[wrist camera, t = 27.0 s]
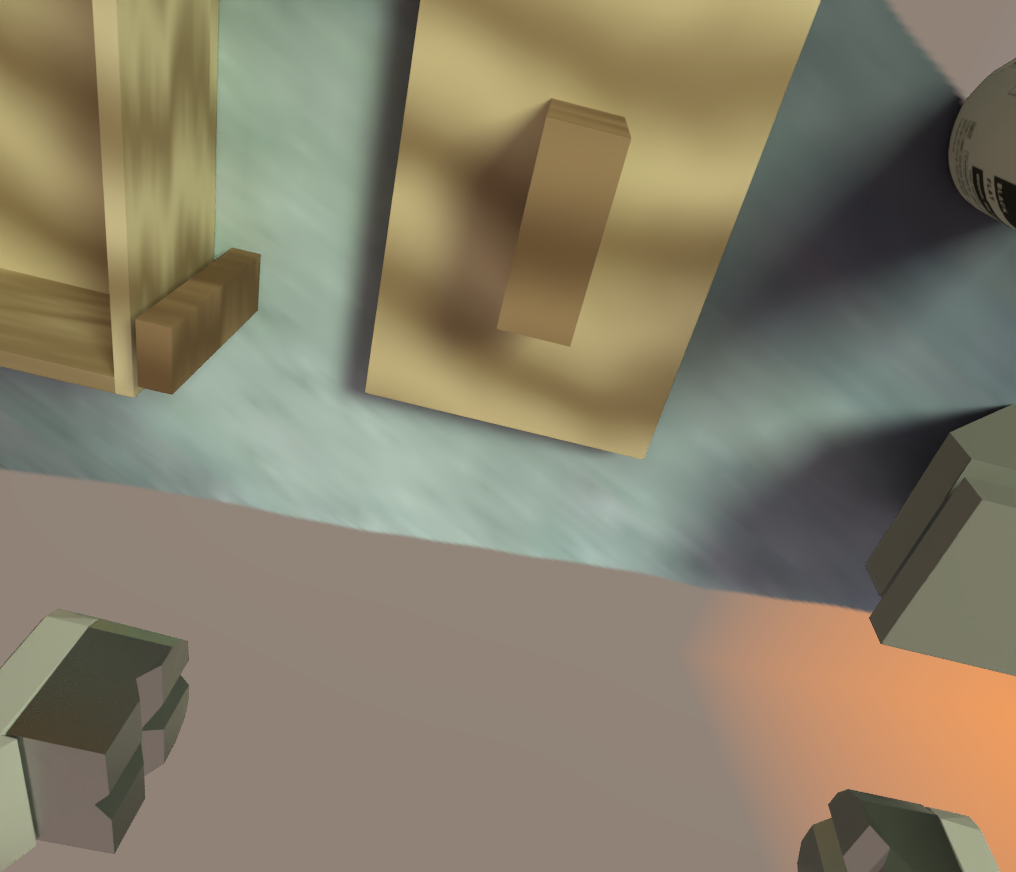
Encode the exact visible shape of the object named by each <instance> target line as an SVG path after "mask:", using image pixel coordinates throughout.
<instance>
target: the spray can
mask: <svg viewBox="0 0 1016 872" xmlns="http://www.w3.org/2000/svg"><path fill="white" fill-rule="evenodd" d="M948 163H949V171H950V173H951V176H952V178H953V181H954V184H955V186H956V188H957V189H958V191H959V192H960V194H961V195H962V196H963V197H964V198H965V200H966V201H968V202H969V203H970V204H971V205H973V206H974V207H975V208H977V209H978V210H980V211H982V212H984V213H985V214H987V215H989V216H990V217H992V218H994V219H995V220H997V221H1000V222H1002V223H1004V224H1006V225H1007V226H1009V227H1010V228H1012V229H1014V230H1016V58H1015V59H1013V60H1012V61H1010V62H1008V63H1007V64H1005V65H1003V66H1002V67H1000V68H998V69H997V70H995V71H994V72H993V73H992V74H990V75H989V76H988V77H987V78H986V79H985V80H984V81H983V82H982V83H981V84H980V85H979V86H978V87H977V88H976V89H975V90H974V91H973V92H972V94H971V95H970V96H969V97H968V98H967V99H966V100H965V102H964V103H963V105H962V107H961V109H960V111H959V114H958V116H957V118H956V120H955V123H954V125H953V129H952V132H951V137H950V143H949V150H948Z"/></svg>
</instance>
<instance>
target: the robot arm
mask: <svg viewBox="0 0 1016 872" xmlns="http://www.w3.org/2000/svg"><path fill="white" fill-rule="evenodd" d="M188 660H189V654H188V641H186V640H182V639H178V638H174V637H170V636H166V635H163V634H159V633H155V632H151V631H147V630H143V629H139V628H135V627H131V626H127V625H123V624H120V623H116V622H112V621H108V620H104V619H100V618H95V617H91V616H87V615H83V614H79V613H74V612H70V611H66V610H62V609H57V610H56V611H54V612H52V613H51V614H49V615H48V616H46V617H45V618H43V619H42V620H41V621H40V622H39V624H38V625H37V626H36V627H35V628H34V629H33V631H32V632H31V633H30V634H29V635H28V636H27V638H26V639H25V640H24V641H23V642H22V643H21V644H20V645H19V647H18V648H17V649H16V650H15V651H14V652H13V654H12V655H11V656H10V657H9V658H8V659H7V661H6V662H5V663H4V664H3V665H2V666H1V667H0V872H1V871H3V870H4V869H5V868H7V867H8V866H9V865H11V864H12V863H13V862H15V861H16V860H17V859H19V858H20V857H21V856H22V855H24V854H25V853H27V852H28V851H29V850H31V849H32V848H33V847H34V846H36V844H37V842H36V840H42V841H46V842H52V843H57V844H63V845H68V846H73V847H79V848H84V849H89V850H95V851H100V852H106V853H112V854H115V852H116V850H117V848H118V847H119V845H120V843H121V841H122V839H123V838H124V835H125V834H126V832H127V830H128V829H129V827H130V825H131V823H132V821H133V819H134V817H135V816H136V814H137V812H138V810H139V809H140V807H141V805H142V803H143V801H144V799H145V785H144V783H145V782H144V776H145V775H147V774H148V773H150V772H151V771H153V770H155V769H156V768H158V767H159V766H161V765H162V764H164V762H165V761H166V759H167V757H168V755H169V753H170V751H171V749H172V748H173V746H174V744H175V742H176V739H177V737H178V734H179V731H180V729H181V726H182V723H183V721H184V718H185V713H186V708H187V704H188V697H189V685H188V683H187V682H186V681H185V680H184V678H183V677H182V676H181V675H180V674H181V673H182V671H183V669H184V667H185V666H186V664H187V662H188ZM828 806H829V809H830V813H831V816H832V818H829V819H827V820H824V821H822V822H819V823H817V824H814V825H813V826H811V828H810V829H809V831H808V832H807V834H806V835H805V837H804V838H803V840H802V841H801V847H800V852H799V857H798V862H797V866H798V872H1000V870H999V868H998V866H997V864H996V861H995V859H994V857H993V855H992V853H991V851H990V849H989V847H988V845H987V843H986V840H985V838H984V836H983V834H982V832H981V830H980V828H979V827H978V826H977V825H976V824H975V823H974V822H973V820H972V819H971V818H970V817H968V816H964V815H960V814H957V813H952V812H948V811H943V810H938V809H934V808H929V807H924V806H923V805H921V804H916V803H911V802H907V801H902V800H897V799H892V798H887V797H883V796H878V795H873V794H869V793H863V792H859V791H855V790H850V789H847V790H844V791H842V792H838V793H837V794H836V795H835V797H834V798H833V799H832V800H831V802H830V803H829V804H828Z"/></svg>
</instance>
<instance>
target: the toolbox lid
mask: <svg viewBox="0 0 1016 872" xmlns="http://www.w3.org/2000/svg"><path fill="white" fill-rule="evenodd" d="M820 1H821V0H420V7H419V14H418V21H417V28H416V35H415V42H414V49H413V56H412V63H411V70H410V77H409V84H408V92H407V99H406V106H405V113H404V120H403V127H402V134H401V141H400V148H399V155H398V162H397V169H396V177H395V184H394V191H393V198H392V205H391V212H390V219H389V226H388V233H387V240H386V247H385V254H384V262H383V269H382V276H381V283H380V290H379V297H378V304H377V311H376V318H375V325H374V332H373V339H372V346H371V354H370V361H369V368H368V375H367V382H366V389H365V393H369V394H373V395H377V396H381V397H385V398H389V399H394V400H398V401H402V402H406V403H410V404H414V405H419V406H423V407H427V408H431V409H435V410H439V411H443V412H448V413H452V414H456V415H460V416H464V417H468V418H473V419H477V420H481V421H485V422H489V423H493V424H497V425H502V426H506V427H510V428H514V429H518V430H522V431H527V432H531V433H535V434H539V435H543V436H547V437H551V438H556V439H560V440H564V441H568V442H572V443H576V444H580V445H585V446H589V447H593V448H597V449H601V450H605V451H610V452H614V453H618V454H622V455H626V456H630V457H634V458H639V459H643V460H644V457H645V455H646V452H647V450H648V447H649V444H650V442H651V439H652V437H653V434H654V431H655V429H656V426H657V424H658V421H659V419H660V416H661V413H662V411H663V408H664V406H665V403H666V400H667V398H668V395H669V393H670V390H671V387H672V385H673V382H674V380H675V377H676V374H677V372H678V369H679V367H680V364H681V361H682V359H683V356H684V354H685V351H686V348H687V346H688V343H689V341H690V338H691V336H692V333H693V330H694V328H695V325H696V323H697V320H698V317H699V315H700V312H701V310H702V307H703V304H704V302H705V299H706V297H707V294H708V291H709V289H710V286H711V284H712V281H713V278H714V276H715V273H716V271H717V268H718V265H719V263H720V260H721V258H722V255H723V252H724V250H725V247H726V245H727V242H728V240H729V237H730V234H731V232H732V229H733V227H734V224H735V221H736V219H737V216H738V214H739V211H740V208H741V206H742V203H743V201H744V198H745V195H746V193H747V190H748V188H749V185H750V182H751V180H752V177H753V175H754V172H755V169H756V167H757V164H758V162H759V159H760V157H761V154H762V151H763V149H764V146H765V144H766V141H767V138H768V136H769V133H770V131H771V128H772V125H773V123H774V120H775V118H776V115H777V112H778V110H779V107H780V105H781V102H782V99H783V97H784V94H785V92H786V89H787V86H788V84H789V81H790V79H791V76H792V73H793V71H794V68H795V66H796V63H797V61H798V58H799V55H800V53H801V50H802V48H803V45H804V42H805V40H806V37H807V35H808V32H809V29H810V27H811V24H812V22H813V19H814V16H815V14H816V11H817V9H818V6H819V3H820Z"/></svg>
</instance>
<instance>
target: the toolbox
mask: <svg viewBox="0 0 1016 872" xmlns="http://www.w3.org/2000/svg"><path fill="white" fill-rule="evenodd" d="M218 14H219V0H0V366H2V367H6V368H10V369H14V370H19V371H23V372H27V373H31V374H35V375H40V376H44V377H48V378H52V379H57V380H61V381H65V382H69V383H73V384H78V385H82V386H86V387H90V388H94V389H99V390H103V391H107V392H111V393H115V394H120V395H124V396H128V397H132V398H134V397H135V396H137V395H138V394H139V393H140V392H141V391H142V390H143V389H144V388H146V389H150V390H155V391H159V392H163V393H167V394H171V395H172V394H173V393H174V392H175V391H176V390H177V389H178V388H179V387H180V386H181V385H182V384H183V383H185V382H186V381H187V380H188V379H189V378H190V377H191V376H192V375H193V374H194V373H195V372H196V371H197V370H198V369H199V368H200V367H201V366H202V365H203V364H204V363H205V362H206V361H207V360H208V359H209V358H210V357H211V356H212V355H213V354H214V353H215V352H216V351H217V350H218V349H219V348H220V347H221V346H222V345H223V344H224V343H225V342H226V341H227V340H228V339H229V338H230V337H231V336H232V335H233V334H234V333H235V332H236V331H237V330H238V329H239V328H240V327H241V326H242V325H243V324H244V323H245V322H246V321H247V320H248V319H249V318H250V317H251V316H252V315H253V314H254V313H255V312H257V311H258V294H259V274H260V254H256V253H252V252H248V251H244V250H240V249H236V248H231V249H230V250H229V251H227V252H226V253H225V254H223V255H222V256H220V257H219V258H218V259H216V260H215V261H214V234H215V179H216V124H217V69H218Z"/></svg>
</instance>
